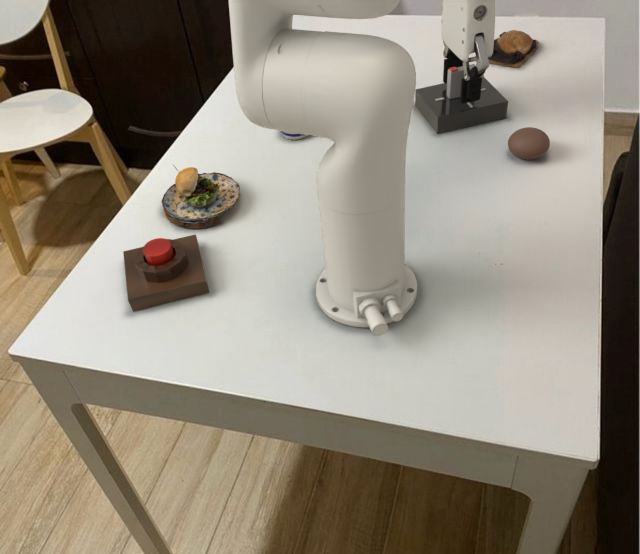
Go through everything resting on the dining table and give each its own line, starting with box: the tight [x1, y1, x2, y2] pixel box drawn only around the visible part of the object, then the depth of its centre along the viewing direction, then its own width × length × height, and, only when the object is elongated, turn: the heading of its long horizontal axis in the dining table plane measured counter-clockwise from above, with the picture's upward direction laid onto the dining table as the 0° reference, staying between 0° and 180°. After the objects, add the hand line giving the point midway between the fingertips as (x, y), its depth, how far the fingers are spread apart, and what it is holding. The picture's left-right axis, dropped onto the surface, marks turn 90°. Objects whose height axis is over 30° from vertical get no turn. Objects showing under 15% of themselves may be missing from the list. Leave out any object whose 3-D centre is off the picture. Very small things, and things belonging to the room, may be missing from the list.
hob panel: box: [414, 76, 509, 135], centre depth 109 cm, size 10×12×3 cm
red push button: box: [142, 237, 174, 266], centre depth 84 cm, size 4×4×2 cm
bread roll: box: [488, 29, 540, 68], centre depth 121 cm, size 11×8×4 cm
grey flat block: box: [447, 63, 476, 99], centre depth 106 cm, size 4×1×5 cm, turn 104°
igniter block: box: [122, 234, 210, 313], centre depth 86 cm, size 10×10×4 cm
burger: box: [161, 164, 241, 229], centre depth 96 cm, size 12×12×8 cm
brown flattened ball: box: [507, 126, 551, 160], centre depth 98 cm, size 6×6×4 cm
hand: (461, 90), depth 107 cm, fingers open, 6 cm apart
